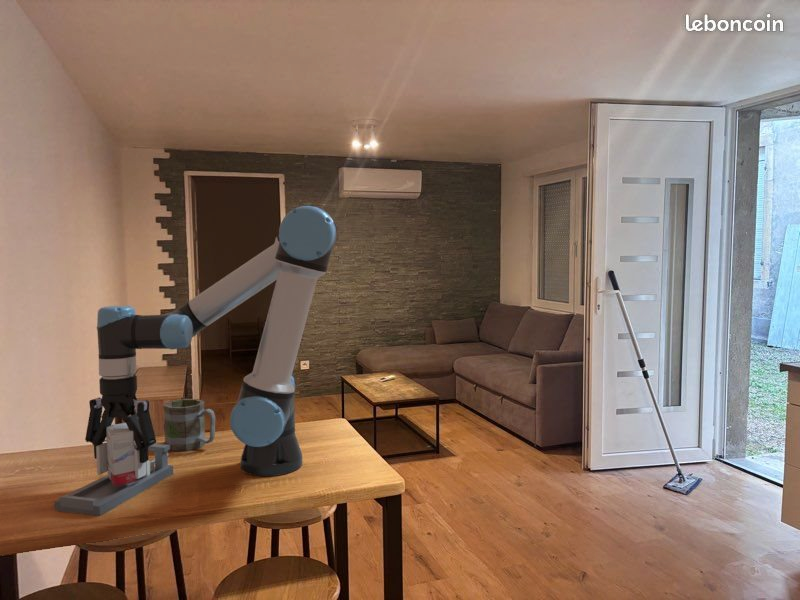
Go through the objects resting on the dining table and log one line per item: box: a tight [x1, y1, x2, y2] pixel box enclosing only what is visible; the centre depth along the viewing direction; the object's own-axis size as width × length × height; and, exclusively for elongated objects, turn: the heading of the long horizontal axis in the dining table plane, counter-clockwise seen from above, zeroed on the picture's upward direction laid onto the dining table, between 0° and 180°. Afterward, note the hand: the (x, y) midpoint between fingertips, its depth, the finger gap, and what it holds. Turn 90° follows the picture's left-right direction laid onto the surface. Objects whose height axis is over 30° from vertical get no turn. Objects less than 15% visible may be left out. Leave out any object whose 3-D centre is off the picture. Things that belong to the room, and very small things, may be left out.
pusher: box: [142, 452, 169, 477], centre depth 141 cm, size 7×12×4 cm, turn 166°
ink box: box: [105, 422, 137, 486], centre depth 131 cm, size 9×5×12 cm, turn 34°
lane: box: [53, 442, 174, 517], centre depth 130 cm, size 11×24×7 cm, turn 166°
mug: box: [162, 398, 216, 453], centre depth 161 cm, size 16×11×12 cm
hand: (121, 474), depth 131 cm, fingers closed on ink box, 9 cm apart
